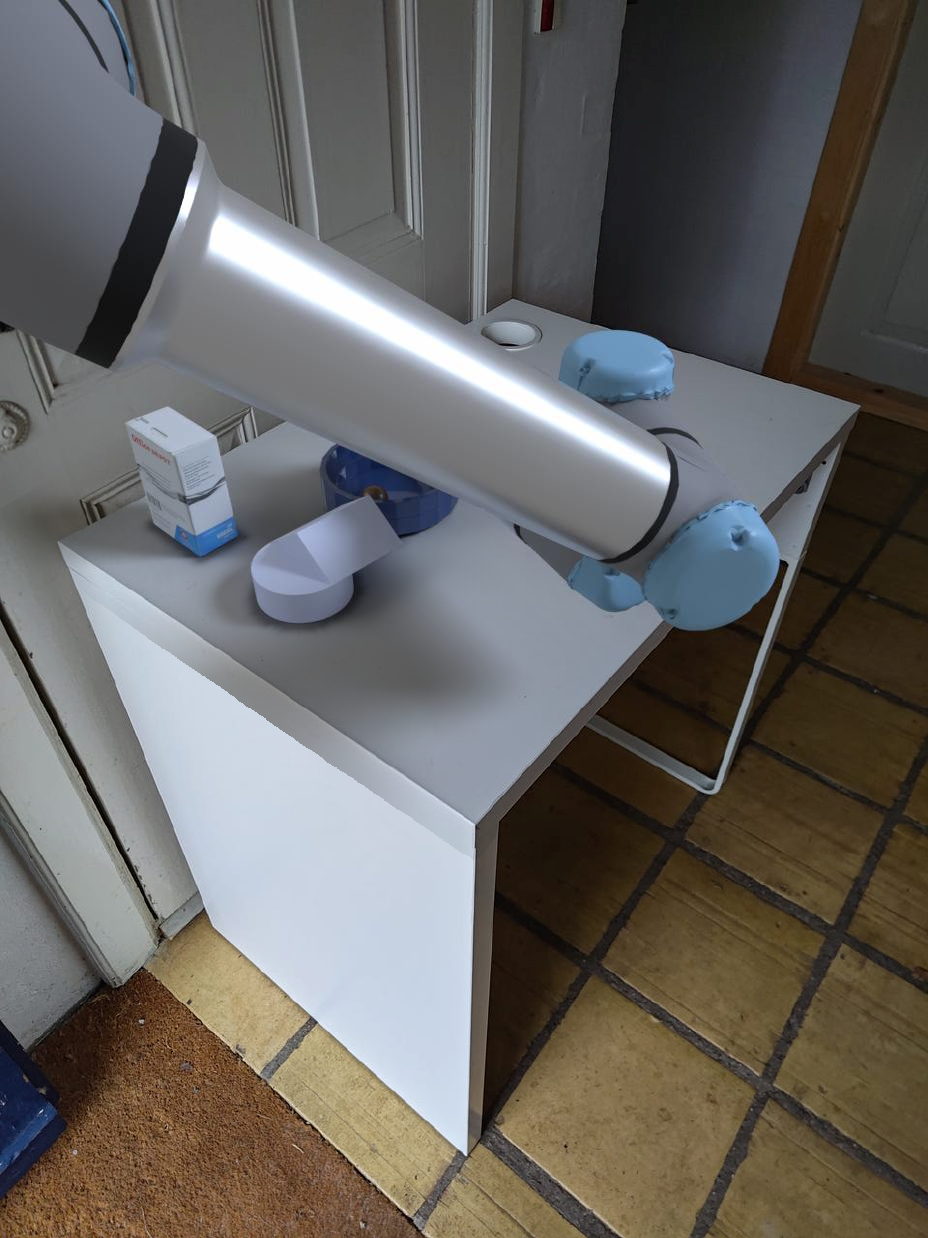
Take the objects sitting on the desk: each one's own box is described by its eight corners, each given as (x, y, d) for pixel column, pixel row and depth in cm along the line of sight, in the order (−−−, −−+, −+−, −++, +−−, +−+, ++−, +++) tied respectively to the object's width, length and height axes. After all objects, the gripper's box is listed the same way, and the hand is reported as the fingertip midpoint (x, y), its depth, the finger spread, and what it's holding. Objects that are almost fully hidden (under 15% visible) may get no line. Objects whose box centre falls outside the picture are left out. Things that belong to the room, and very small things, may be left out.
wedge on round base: (345, 532, 88) (237, 590, 81) (338, 476, 83) (224, 532, 77) (404, 571, 83) (296, 637, 76) (401, 514, 79) (285, 578, 72)
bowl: (316, 539, 87) (311, 502, 84) (332, 463, 98) (328, 428, 94) (457, 540, 87) (457, 503, 84) (458, 464, 98) (458, 428, 95)
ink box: (240, 537, 87) (218, 434, 79) (198, 559, 85) (171, 454, 77) (192, 503, 92) (167, 402, 84) (151, 523, 89) (121, 421, 81)
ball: (354, 512, 90) (358, 505, 87) (361, 485, 90) (365, 478, 87) (382, 520, 90) (386, 514, 87) (389, 493, 91) (393, 486, 88)
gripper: (444, 543, 72) (323, 421, 87) (586, 491, 78) (451, 385, 93) (444, 466, 67) (316, 350, 82) (596, 416, 73) (451, 317, 88)
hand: (388, 369), depth 87 cm, fingers closed on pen, 2 cm apart
